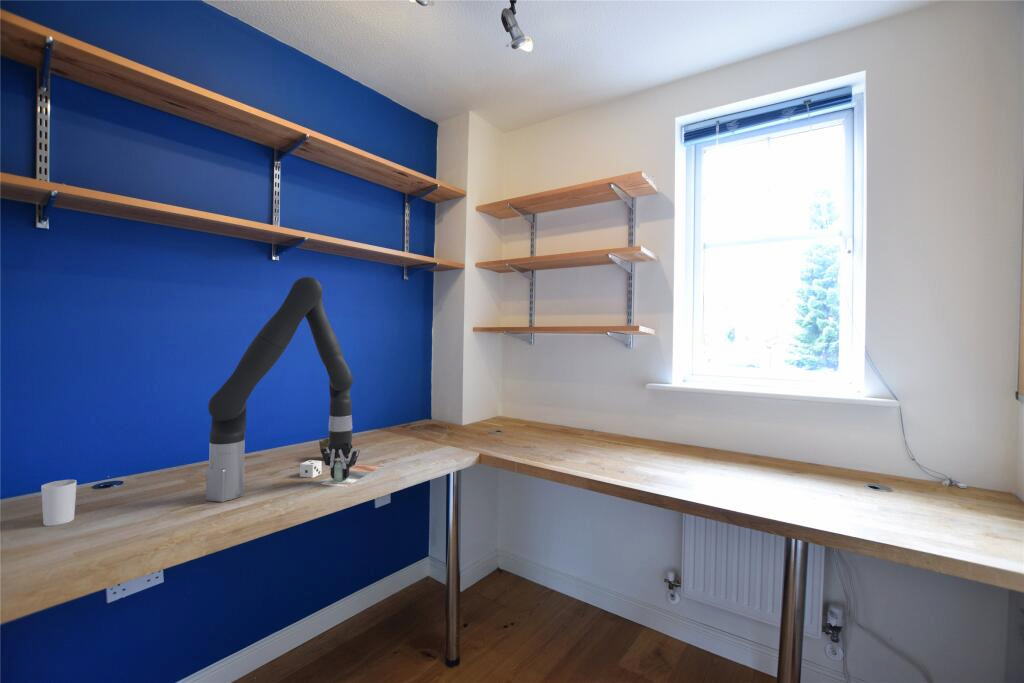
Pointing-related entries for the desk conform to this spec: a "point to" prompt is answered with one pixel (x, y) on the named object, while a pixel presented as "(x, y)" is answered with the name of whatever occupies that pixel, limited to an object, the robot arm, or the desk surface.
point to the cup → (324, 444)
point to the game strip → (355, 474)
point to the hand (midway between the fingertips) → (339, 478)
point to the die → (310, 468)
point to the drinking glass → (58, 502)
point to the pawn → (338, 473)
